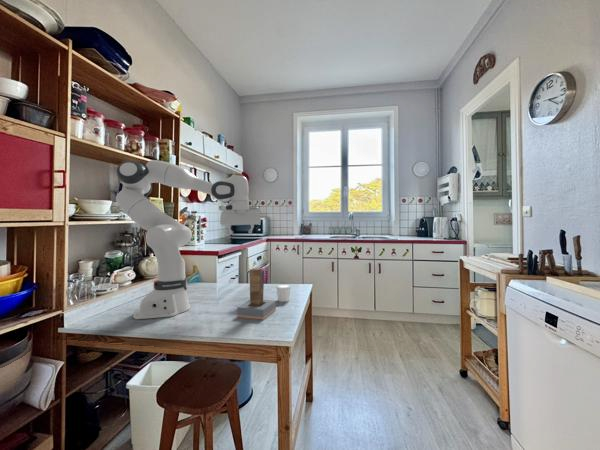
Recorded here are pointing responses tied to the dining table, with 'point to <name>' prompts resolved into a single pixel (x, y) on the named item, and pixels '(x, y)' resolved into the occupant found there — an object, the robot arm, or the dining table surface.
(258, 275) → the block
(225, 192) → the robot arm
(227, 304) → the dining table surface
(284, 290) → the shot glass
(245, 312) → the end cap
